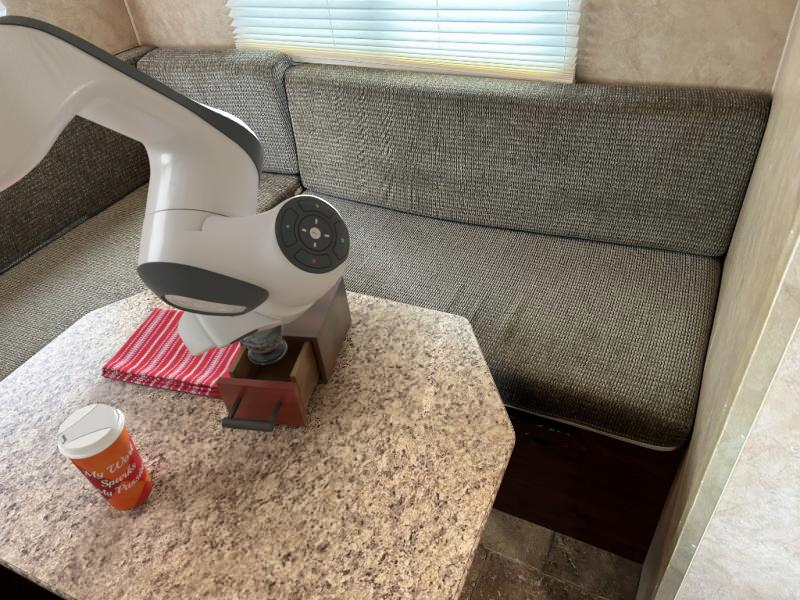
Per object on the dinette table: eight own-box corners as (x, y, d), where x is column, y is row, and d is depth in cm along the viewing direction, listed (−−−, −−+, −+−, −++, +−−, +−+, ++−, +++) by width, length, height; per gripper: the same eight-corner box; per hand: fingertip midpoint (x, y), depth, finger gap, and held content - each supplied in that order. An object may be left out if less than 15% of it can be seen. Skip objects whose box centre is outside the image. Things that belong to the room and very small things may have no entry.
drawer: (294, 455, 82) (281, 418, 77) (217, 447, 84) (199, 410, 79) (331, 359, 96) (322, 322, 91) (263, 354, 98) (251, 318, 93)
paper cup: (112, 529, 77) (63, 463, 68) (93, 490, 82) (45, 424, 73) (170, 492, 80) (130, 424, 71) (148, 457, 85) (108, 390, 76)
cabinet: (328, 383, 93) (316, 337, 87) (252, 377, 95) (235, 332, 89) (351, 320, 104) (342, 275, 98) (282, 316, 106) (270, 273, 100)
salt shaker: (238, 364, 80) (211, 293, 72) (256, 334, 84) (233, 264, 77) (279, 368, 79) (256, 297, 71) (295, 337, 83) (275, 267, 75)
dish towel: (228, 402, 92) (223, 390, 90) (100, 380, 98) (93, 369, 97) (276, 327, 104) (272, 315, 103) (160, 312, 111) (154, 301, 109)
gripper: (336, 218, 70) (306, 255, 82) (174, 302, 61) (166, 330, 73) (365, 264, 70) (330, 294, 82) (207, 355, 61) (194, 374, 73)
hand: (252, 311), depth 78 cm, fingers closed on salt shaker, 3 cm apart
